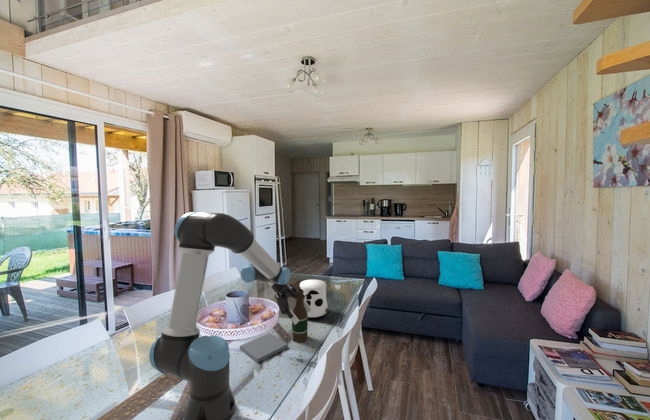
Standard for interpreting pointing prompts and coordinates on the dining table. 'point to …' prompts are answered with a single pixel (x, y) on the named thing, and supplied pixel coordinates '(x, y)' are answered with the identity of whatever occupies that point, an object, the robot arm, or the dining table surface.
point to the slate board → (263, 347)
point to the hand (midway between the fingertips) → (304, 316)
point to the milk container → (315, 297)
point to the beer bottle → (300, 319)
